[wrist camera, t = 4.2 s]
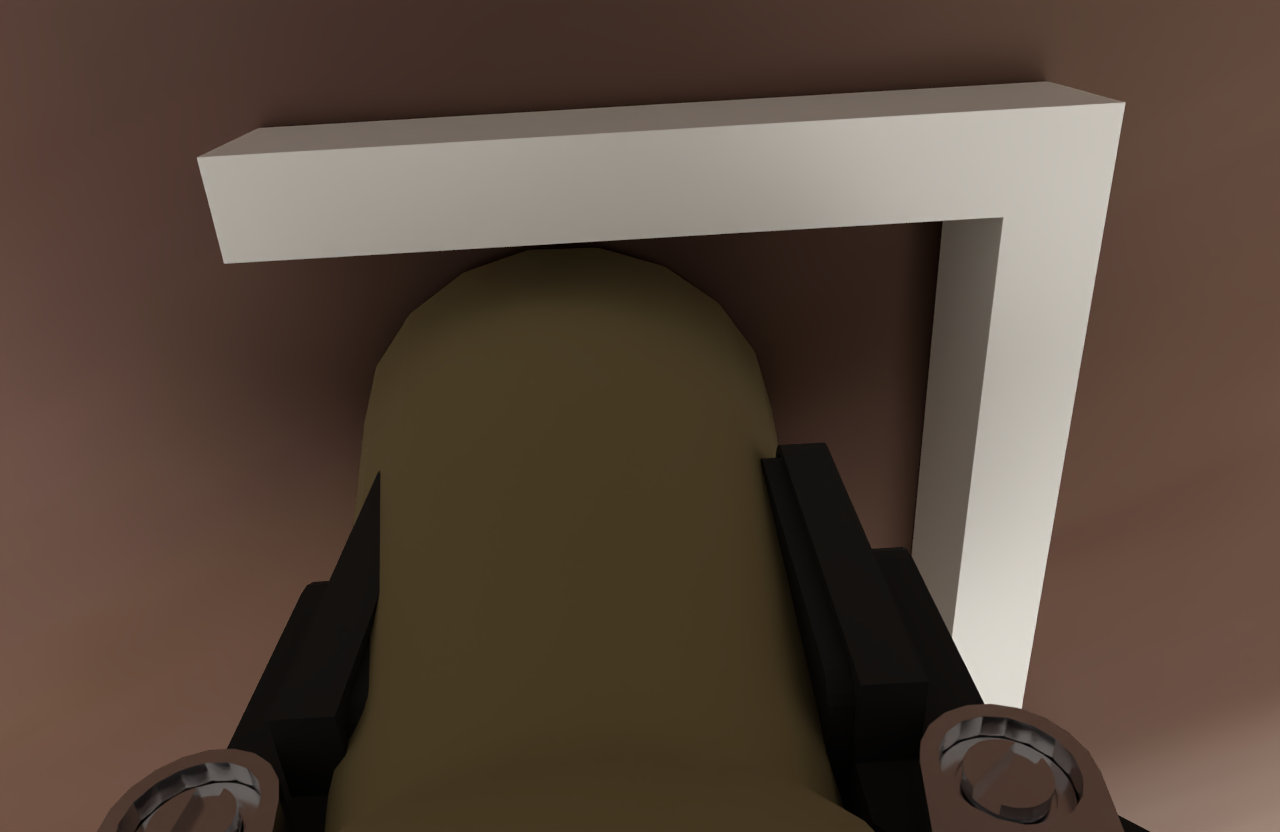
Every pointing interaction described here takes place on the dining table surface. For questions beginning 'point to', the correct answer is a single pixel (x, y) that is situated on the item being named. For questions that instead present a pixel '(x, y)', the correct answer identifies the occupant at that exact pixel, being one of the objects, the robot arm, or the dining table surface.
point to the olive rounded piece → (579, 569)
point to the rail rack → (772, 201)
